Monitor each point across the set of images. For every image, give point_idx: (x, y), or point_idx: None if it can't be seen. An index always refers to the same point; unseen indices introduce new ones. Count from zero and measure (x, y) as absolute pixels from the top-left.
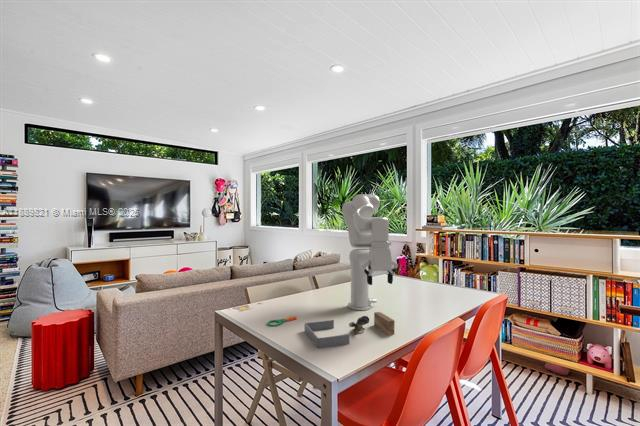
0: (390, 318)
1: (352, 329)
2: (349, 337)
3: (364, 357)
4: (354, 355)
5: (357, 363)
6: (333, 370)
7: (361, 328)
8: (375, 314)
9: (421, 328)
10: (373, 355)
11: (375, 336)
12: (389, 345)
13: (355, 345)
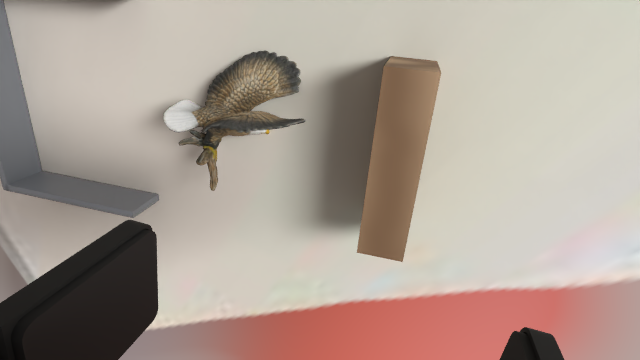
0: (404, 225)
1: (190, 132)
2: (141, 211)
3: (172, 303)
4: None
5: None
6: None
7: (245, 134)
8: (381, 85)
9: (632, 235)
10: (205, 309)
11: (299, 194)
12: (302, 287)
13: (176, 223)
